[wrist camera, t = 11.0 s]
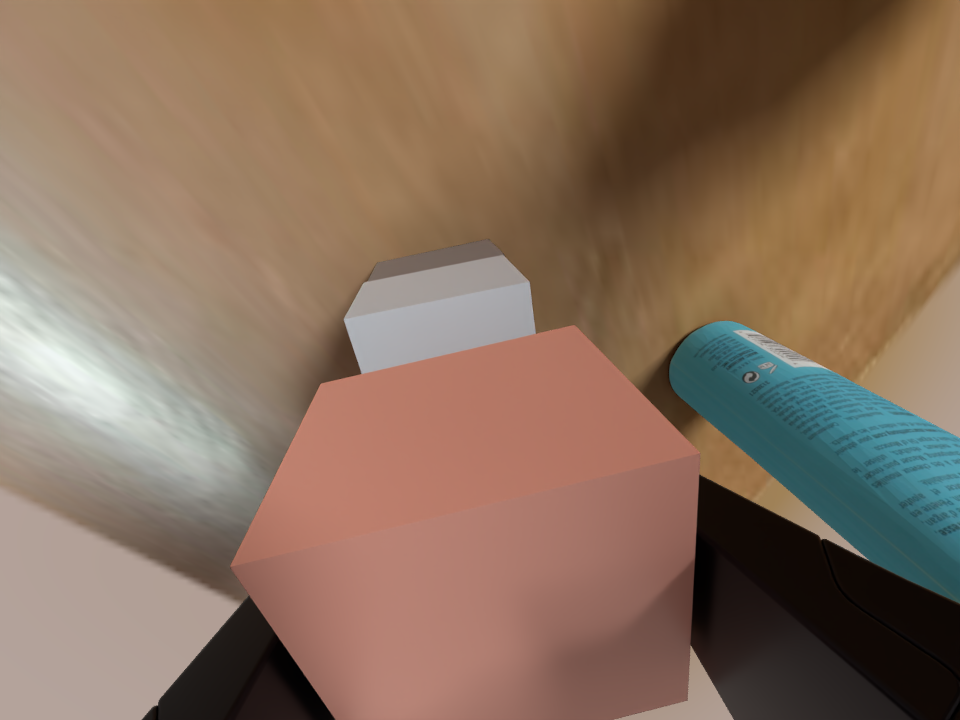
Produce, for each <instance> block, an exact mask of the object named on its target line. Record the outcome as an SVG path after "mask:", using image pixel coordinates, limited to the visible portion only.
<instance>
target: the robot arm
mask: <svg viewBox="0 0 960 720" xmlns="http://www.w3.org/2000/svg"><path fill="white" fill-rule="evenodd" d="M690 645H691V646H692V648H693V650H694V652H695V653H696V655H697V657H698V658H699V660H700V662H701V664H702V665H703V667H704V669H705V670H706V672H707V674H708V676H709V677H710V679H711V681H712V683H713V684H714V686H715V688H716V689H717V691H718V693H719V695H720V696H721V698H722V700H723V702H724V703H725V705H726V707H727V708H728V710H729V712H730V714H731V715H732V717H733V719H734V720H960V603H958V602H956V601H953V600H951V599H949V598H947V597H945V596H942V595H940V594H938V593H936V592H934V591H931V590H929V589H927V588H925V587H923V586H921V585H918V584H916V583H914V582H912V581H910V580H907V579H905V578H903V577H901V576H899V575H897V574H895V573H893V572H891V571H889V570H887V569H885V568H883V567H881V566H879V565H877V564H875V563H873V562H871V561H868V560H866V559H864V558H862V557H860V556H858V555H856V554H854V553H852V552H850V551H848V550H846V549H844V548H843V547H841V546H839V545H837V544H835V543H833V542H831V541H829V540H827V539H822V540H821V539H820V537H819V536H818V535H816V534H815V533H813V532H811V531H809V530H807V529H805V528H803V527H801V526H799V525H797V524H795V523H793V522H791V521H789V520H787V519H785V518H783V517H781V516H779V515H777V514H775V513H774V512H772V511H770V510H768V509H766V508H764V507H762V506H760V505H758V504H756V503H754V502H752V501H750V500H748V499H746V498H744V497H742V496H740V495H738V494H736V493H734V492H733V491H731V490H729V489H727V488H725V487H723V486H721V485H719V484H717V483H715V482H713V481H711V480H709V479H707V478H705V477H703V476H701V475H699V488H698V508H697V527H696V546H695V566H694V585H693V604H692V624H691V643H690ZM142 720H335V718H334V717H333V715H332V714H331V712H330V711H329V710H328V708H327V707H326V705H325V704H324V702H323V701H322V699H321V698H320V697H319V695H318V694H317V692H316V691H315V689H314V688H313V686H312V685H311V684H310V682H309V681H308V679H307V678H306V676H305V675H304V673H303V672H302V671H301V669H300V668H299V666H298V665H297V663H296V662H295V660H294V659H293V658H292V656H291V655H290V653H289V652H288V650H287V649H286V647H285V646H284V645H283V643H282V642H281V640H280V639H279V637H278V636H277V634H276V633H275V632H274V630H273V629H272V627H271V626H270V624H269V623H268V621H267V620H266V619H265V617H264V616H263V614H262V613H261V611H260V610H259V609H258V607H257V606H256V604H255V603H254V601H253V600H252V598H251V597H250V596H248V597H247V598H246V599H245V601H244V602H243V603H242V604H241V605H240V606H239V608H238V609H237V610H236V611H235V612H234V613H233V615H232V616H231V617H230V618H229V619H228V620H227V621H226V623H225V624H224V625H223V626H222V627H221V628H220V630H219V631H218V632H217V633H216V634H215V635H214V637H213V638H212V639H211V640H210V641H209V642H208V644H207V645H206V646H205V647H204V648H203V649H202V651H201V652H200V653H199V654H198V655H197V656H196V658H195V659H194V660H193V661H192V662H191V663H190V665H189V666H188V667H187V668H186V669H185V670H184V672H183V673H182V674H181V675H180V676H179V677H178V679H177V680H176V681H175V682H174V683H173V684H172V685H171V687H170V688H169V689H168V690H167V691H166V693H165V694H164V695H163V696H162V697H161V698H160V700H159V702H158V706H154V707H152V708H151V710H150V711H149V712H148V713H147V714H146V715H145V717H144V718H143V719H142Z"/></svg>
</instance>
